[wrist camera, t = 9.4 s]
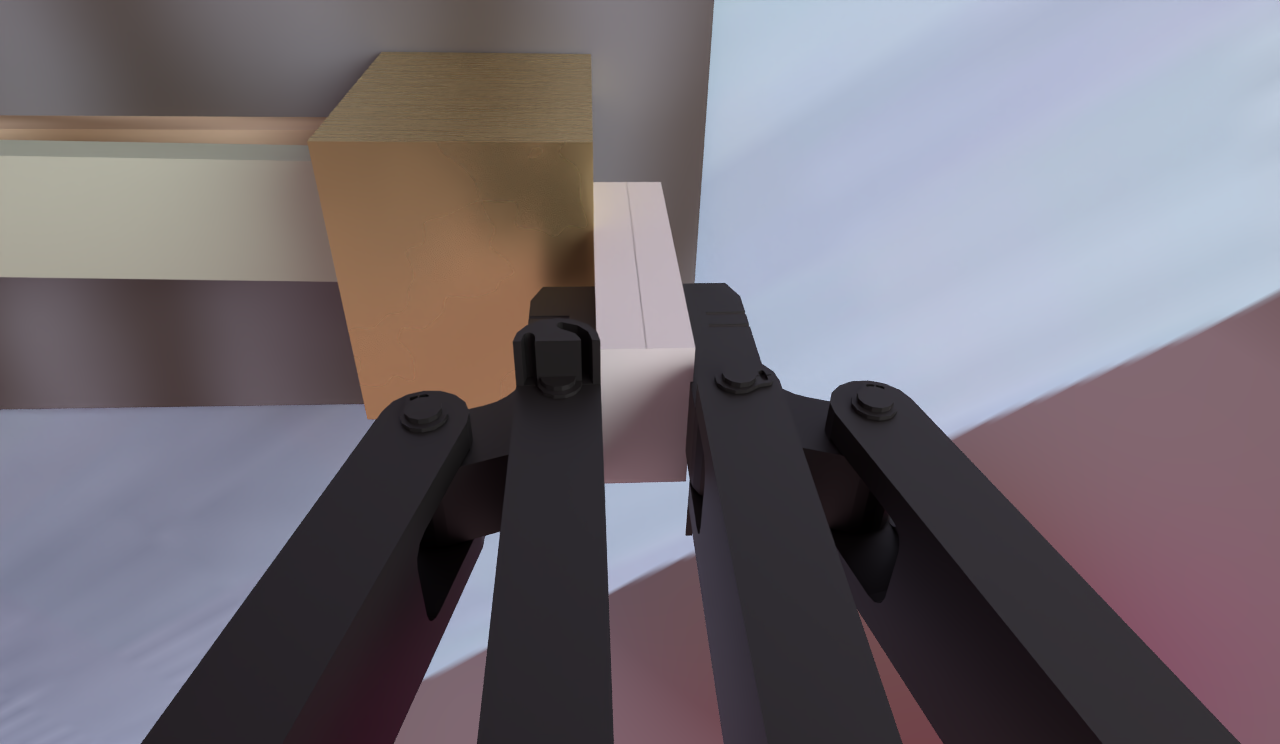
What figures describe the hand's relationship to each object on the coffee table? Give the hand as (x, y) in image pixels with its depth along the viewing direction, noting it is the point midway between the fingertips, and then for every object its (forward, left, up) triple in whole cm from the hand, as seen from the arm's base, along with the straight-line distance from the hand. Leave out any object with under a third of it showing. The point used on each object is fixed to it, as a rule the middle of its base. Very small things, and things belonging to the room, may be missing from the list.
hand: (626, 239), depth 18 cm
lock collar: (-3, 0, -5) cm, 6 cm away
